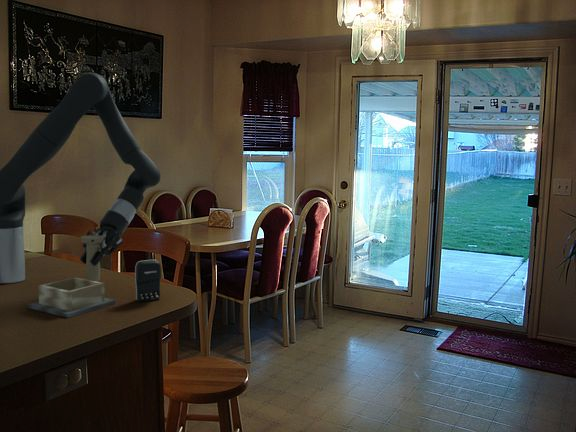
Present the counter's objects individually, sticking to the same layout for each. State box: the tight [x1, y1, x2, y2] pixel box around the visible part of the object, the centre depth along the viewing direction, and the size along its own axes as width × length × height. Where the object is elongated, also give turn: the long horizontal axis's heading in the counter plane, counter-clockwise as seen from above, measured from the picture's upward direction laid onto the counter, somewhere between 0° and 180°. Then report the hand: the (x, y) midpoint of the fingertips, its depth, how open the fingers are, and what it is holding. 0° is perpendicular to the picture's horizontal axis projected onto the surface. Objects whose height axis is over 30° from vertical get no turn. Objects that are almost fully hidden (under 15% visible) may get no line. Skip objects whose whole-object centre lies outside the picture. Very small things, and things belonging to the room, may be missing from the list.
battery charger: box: [134, 259, 162, 302], centre depth 172 cm, size 7×4×11 cm, turn 120°
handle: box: [80, 235, 104, 282], centre depth 177 cm, size 5×6×15 cm
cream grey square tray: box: [27, 277, 116, 319], centre depth 165 cm, size 16×16×6 cm
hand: (87, 262), depth 175 cm, fingers closed on handle, 3 cm apart
